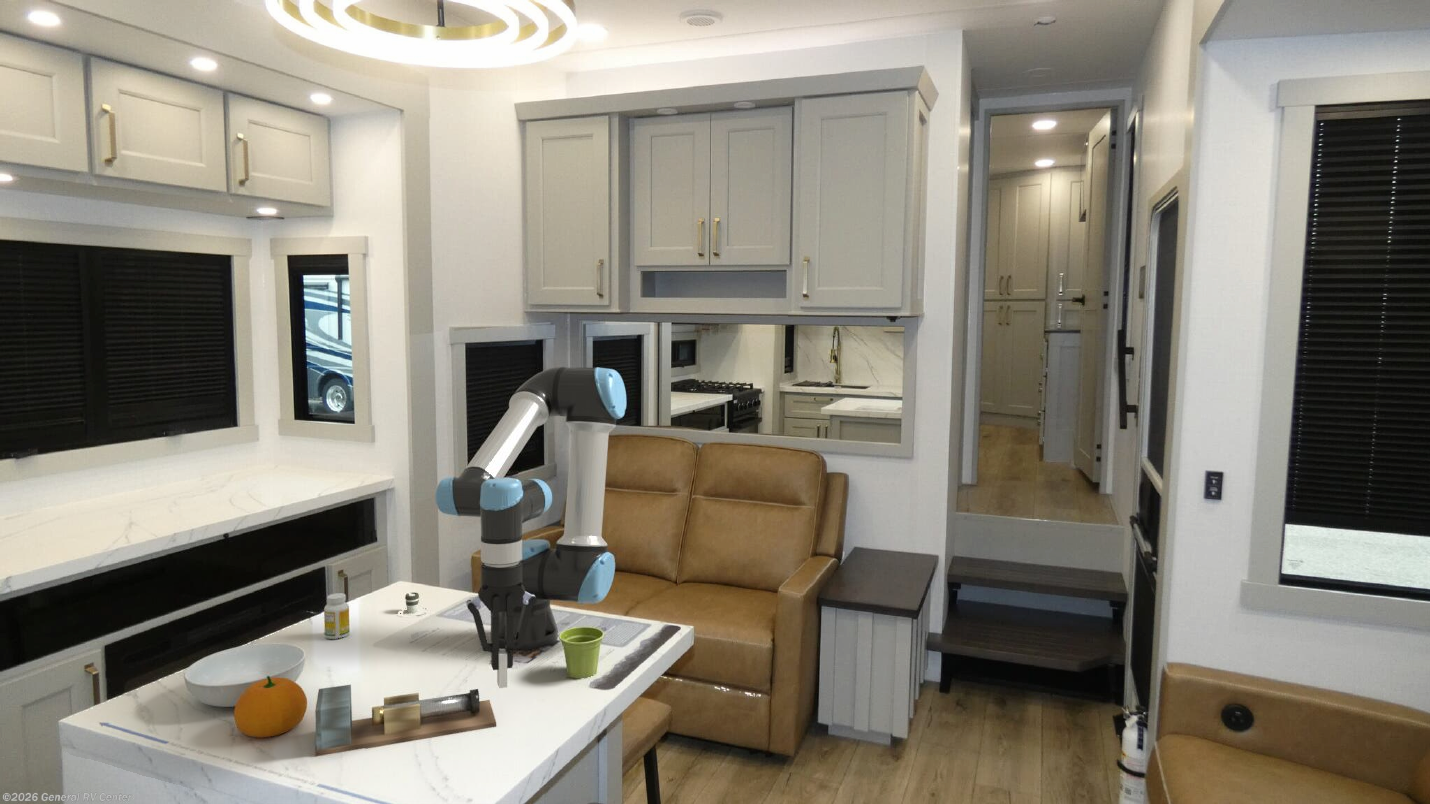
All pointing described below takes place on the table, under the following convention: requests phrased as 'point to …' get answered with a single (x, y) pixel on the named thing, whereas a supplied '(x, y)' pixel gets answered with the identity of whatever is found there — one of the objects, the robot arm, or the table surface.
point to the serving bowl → (241, 671)
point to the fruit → (270, 707)
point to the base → (385, 722)
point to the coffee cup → (412, 602)
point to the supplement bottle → (336, 616)
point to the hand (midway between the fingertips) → (502, 685)
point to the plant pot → (581, 650)
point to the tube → (435, 706)
